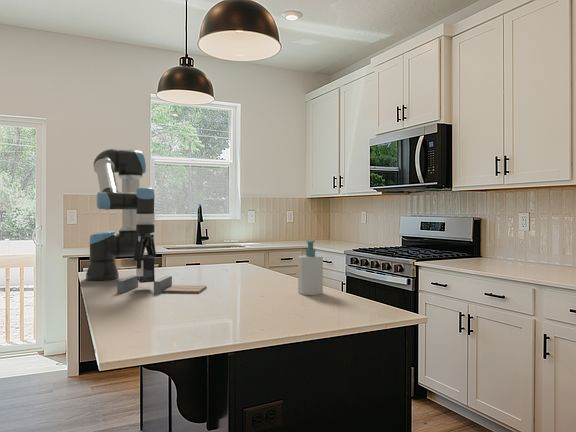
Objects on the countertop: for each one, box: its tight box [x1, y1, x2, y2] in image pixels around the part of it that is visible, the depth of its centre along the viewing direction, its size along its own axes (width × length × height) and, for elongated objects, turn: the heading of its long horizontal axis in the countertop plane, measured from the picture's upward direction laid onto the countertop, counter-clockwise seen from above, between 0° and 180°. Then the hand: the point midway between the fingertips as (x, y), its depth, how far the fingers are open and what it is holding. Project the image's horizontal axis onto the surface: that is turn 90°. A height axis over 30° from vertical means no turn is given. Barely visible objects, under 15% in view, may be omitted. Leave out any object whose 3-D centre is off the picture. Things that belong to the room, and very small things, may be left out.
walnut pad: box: [162, 284, 207, 295], centre depth 198 cm, size 13×15×1 cm
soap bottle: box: [297, 239, 324, 296], centre depth 193 cm, size 10×9×22 cm
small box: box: [137, 254, 156, 284], centre depth 200 cm, size 11×6×10 cm, turn 25°
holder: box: [116, 274, 173, 295], centre depth 199 cm, size 16×18×5 cm
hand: (145, 273), depth 200 cm, fingers closed on small box, 12 cm apart
